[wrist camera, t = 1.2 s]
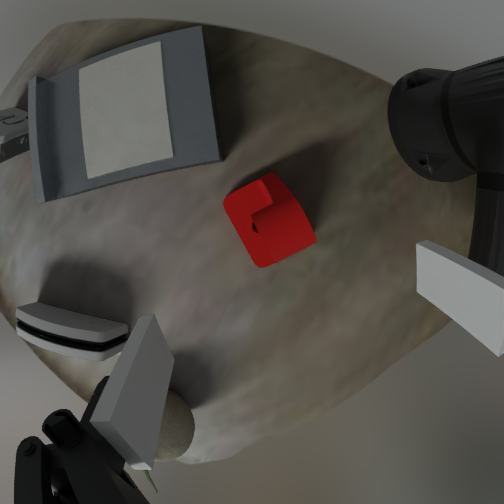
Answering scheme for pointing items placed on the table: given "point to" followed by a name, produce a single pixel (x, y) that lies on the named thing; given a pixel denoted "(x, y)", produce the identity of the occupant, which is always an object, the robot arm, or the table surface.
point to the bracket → (269, 220)
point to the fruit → (174, 430)
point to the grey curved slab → (70, 332)
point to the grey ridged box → (124, 116)
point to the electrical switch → (13, 133)
